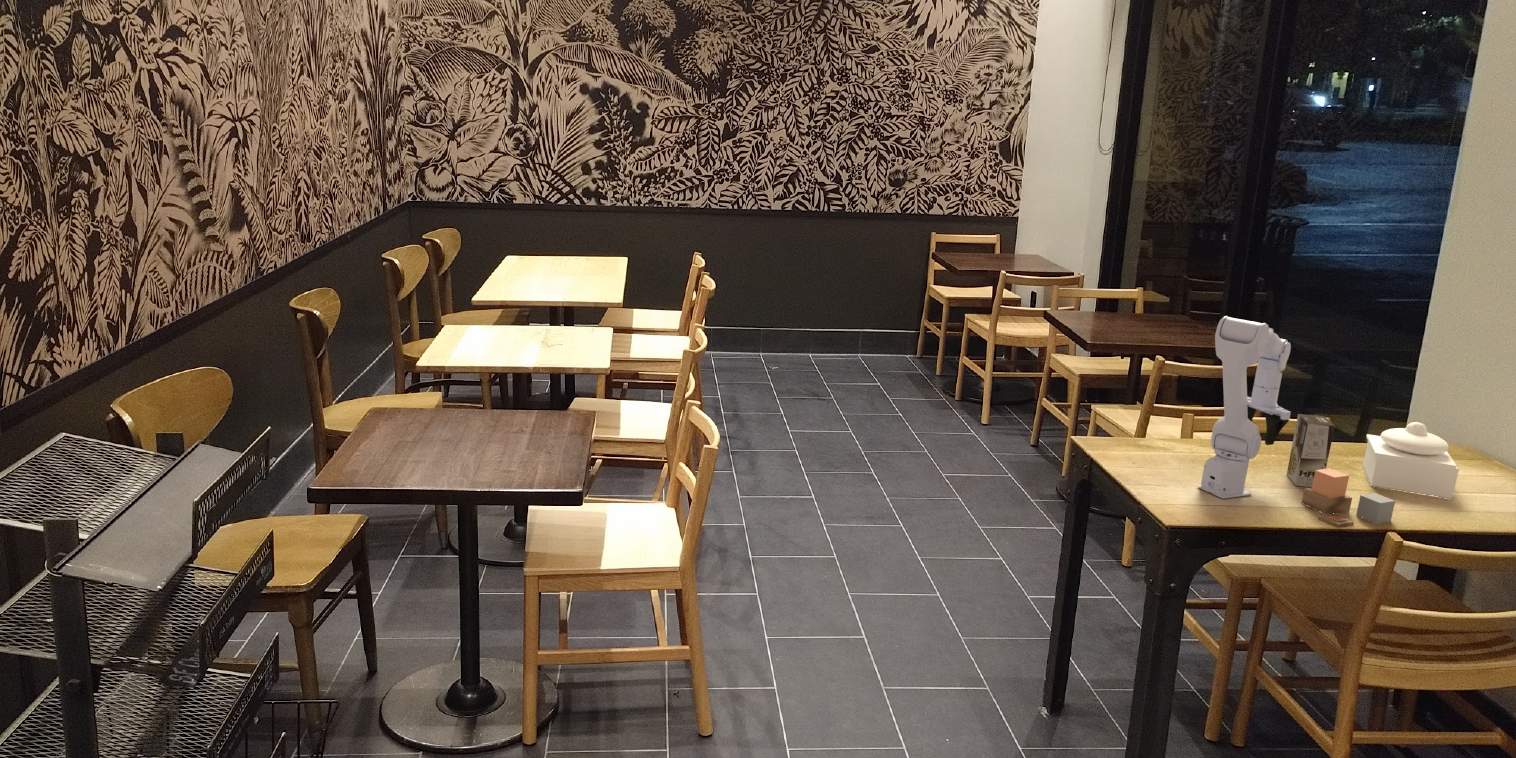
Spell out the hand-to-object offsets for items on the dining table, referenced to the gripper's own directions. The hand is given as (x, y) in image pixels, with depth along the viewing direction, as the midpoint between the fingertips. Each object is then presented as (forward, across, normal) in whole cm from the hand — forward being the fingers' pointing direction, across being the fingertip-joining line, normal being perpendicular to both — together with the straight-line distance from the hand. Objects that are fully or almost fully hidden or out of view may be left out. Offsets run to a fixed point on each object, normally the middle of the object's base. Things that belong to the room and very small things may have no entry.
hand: (1256, 439), depth 273 cm
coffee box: (+10, -6, -12) cm, 17 cm away
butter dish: (+10, -14, -39) cm, 42 cm away
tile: (+10, -28, +4) cm, 30 cm away
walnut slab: (+10, -21, -1) cm, 23 cm away
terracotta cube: (+6, -21, -1) cm, 22 cm away
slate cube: (+10, -29, -7) cm, 31 cm away
